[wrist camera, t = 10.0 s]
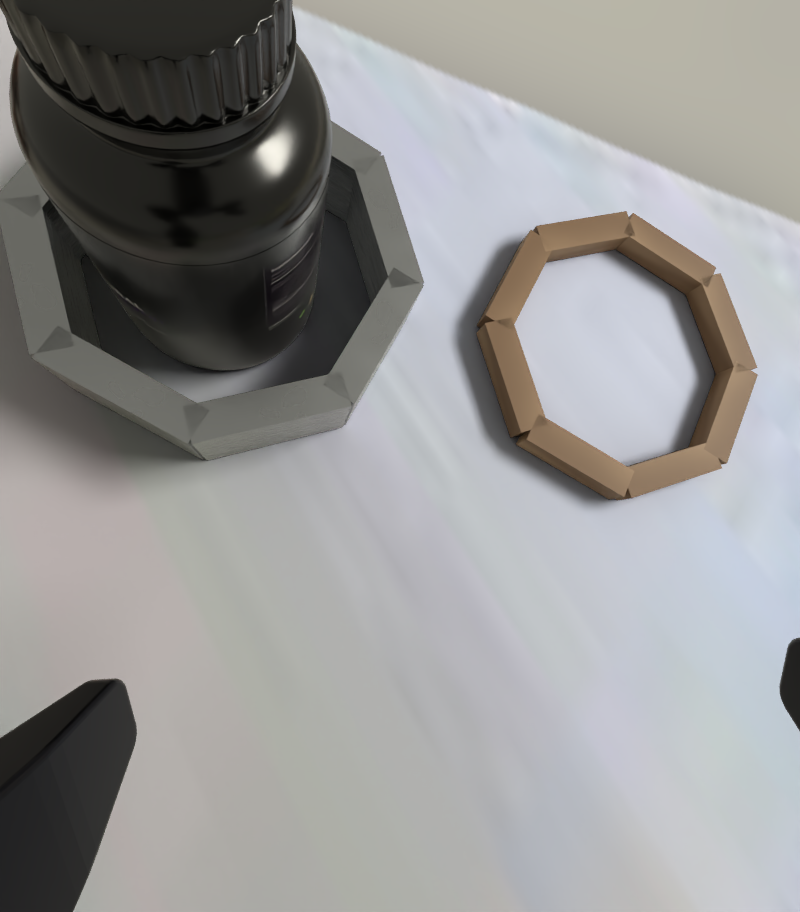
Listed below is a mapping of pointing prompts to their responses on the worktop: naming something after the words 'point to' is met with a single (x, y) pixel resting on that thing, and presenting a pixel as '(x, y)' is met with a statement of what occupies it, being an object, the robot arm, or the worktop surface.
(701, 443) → the walnut ring
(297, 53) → the supplement bottle
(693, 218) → the worktop surface
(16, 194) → the hub socket
